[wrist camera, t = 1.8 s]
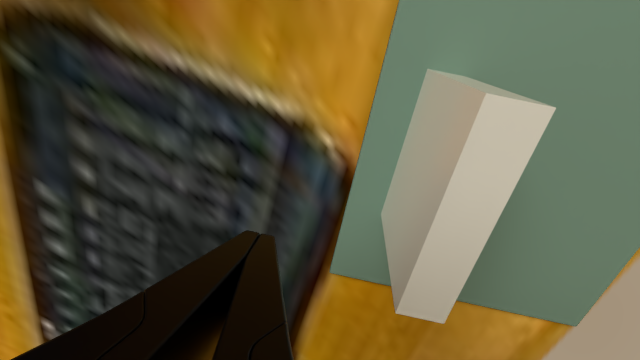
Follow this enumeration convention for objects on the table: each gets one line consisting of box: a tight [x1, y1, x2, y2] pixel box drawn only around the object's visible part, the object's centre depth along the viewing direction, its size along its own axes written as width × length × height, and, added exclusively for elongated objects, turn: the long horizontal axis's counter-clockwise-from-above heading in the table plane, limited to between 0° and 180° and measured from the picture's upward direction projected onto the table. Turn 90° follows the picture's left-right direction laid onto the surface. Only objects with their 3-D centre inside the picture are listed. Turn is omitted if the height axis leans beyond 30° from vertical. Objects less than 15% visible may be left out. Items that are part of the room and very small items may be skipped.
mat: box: [330, 0, 640, 326], centre depth 16 cm, size 18×16×1 cm
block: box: [381, 69, 556, 324], centre depth 13 cm, size 8×2×7 cm, turn 170°
